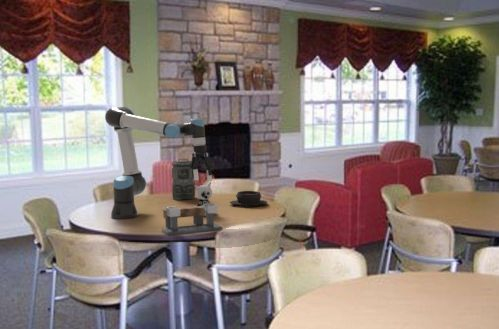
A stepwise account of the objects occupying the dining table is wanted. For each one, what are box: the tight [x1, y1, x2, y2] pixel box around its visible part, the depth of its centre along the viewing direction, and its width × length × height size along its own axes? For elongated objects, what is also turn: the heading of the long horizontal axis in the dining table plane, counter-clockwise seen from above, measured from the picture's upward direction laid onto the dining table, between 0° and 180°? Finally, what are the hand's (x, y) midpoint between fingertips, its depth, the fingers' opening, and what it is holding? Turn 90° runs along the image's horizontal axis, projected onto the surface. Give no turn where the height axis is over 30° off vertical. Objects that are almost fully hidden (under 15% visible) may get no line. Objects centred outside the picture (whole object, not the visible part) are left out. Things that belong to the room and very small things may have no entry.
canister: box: [171, 158, 196, 201], centre depth 377 cm, size 16×16×28 cm
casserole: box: [229, 190, 268, 207], centre depth 353 cm, size 25×19×8 cm
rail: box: [162, 205, 205, 219], centre depth 294 cm, size 22×4×4 cm, turn 115°
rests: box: [164, 216, 204, 228], centre depth 294 cm, size 20×5×5 cm, turn 115°
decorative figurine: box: [194, 181, 216, 217], centre depth 323 cm, size 15×15×20 cm
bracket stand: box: [161, 202, 223, 236], centre depth 282 cm, size 30×10×13 cm, turn 115°
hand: (203, 180), depth 318 cm, fingers open, 13 cm apart
